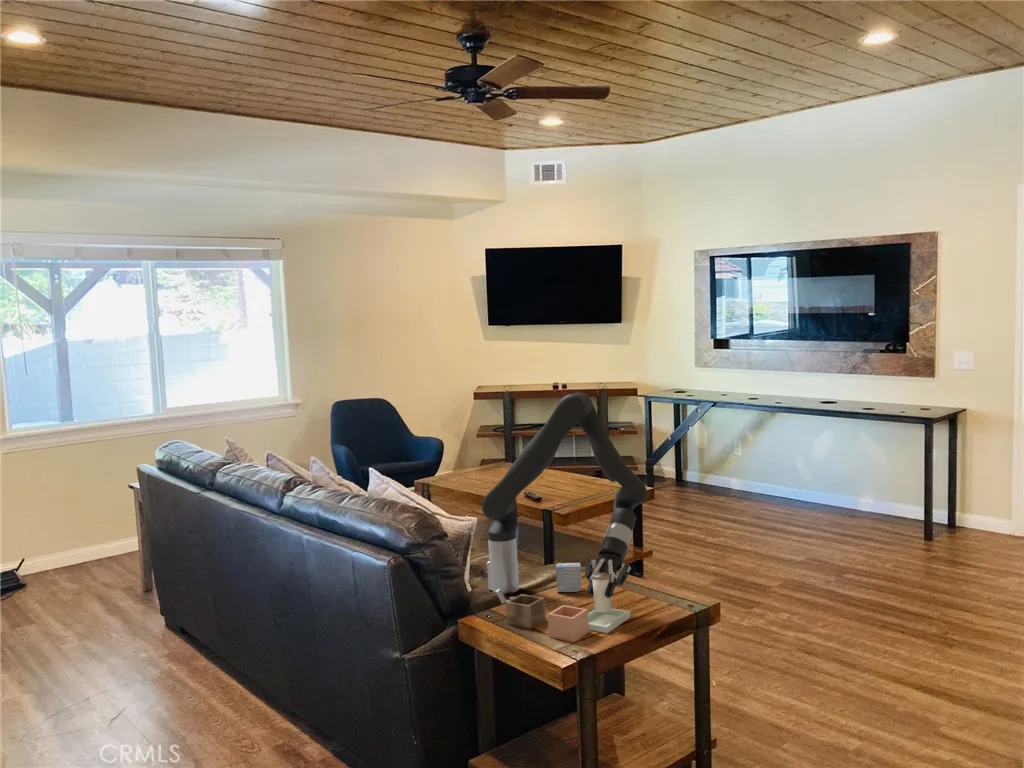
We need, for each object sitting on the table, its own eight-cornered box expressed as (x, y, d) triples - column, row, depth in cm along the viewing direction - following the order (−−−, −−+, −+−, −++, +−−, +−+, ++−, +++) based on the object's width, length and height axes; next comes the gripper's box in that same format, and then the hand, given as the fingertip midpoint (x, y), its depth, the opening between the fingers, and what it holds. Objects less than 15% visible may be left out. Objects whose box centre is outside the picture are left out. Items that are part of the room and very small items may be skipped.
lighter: (521, 613, 228) (519, 587, 228) (520, 615, 227) (519, 589, 226) (497, 614, 229) (495, 588, 228) (497, 616, 227) (495, 590, 227)
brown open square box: (507, 626, 218) (505, 602, 218) (522, 617, 225) (521, 594, 224) (530, 631, 214) (529, 606, 213) (545, 621, 220) (544, 597, 220)
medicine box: (582, 588, 249) (580, 562, 248) (581, 593, 244) (580, 566, 244) (557, 589, 249) (556, 563, 249) (557, 593, 245) (555, 566, 245)
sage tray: (575, 630, 212) (574, 621, 212) (599, 614, 224) (599, 606, 224) (607, 636, 206) (606, 627, 206) (630, 619, 218) (630, 611, 218)
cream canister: (590, 611, 214) (588, 575, 214) (599, 605, 218) (597, 571, 218) (606, 613, 211) (604, 578, 211) (615, 608, 215) (613, 573, 215)
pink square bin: (548, 639, 207) (547, 614, 206) (564, 629, 213) (562, 605, 213) (574, 644, 202) (573, 618, 202) (589, 634, 209) (588, 609, 208)
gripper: (589, 533, 224) (571, 585, 215) (633, 537, 216) (616, 592, 207) (599, 546, 229) (581, 598, 219) (643, 551, 221) (626, 605, 211)
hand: (598, 595), depth 213 cm, fingers closed on cream canister, 4 cm apart
